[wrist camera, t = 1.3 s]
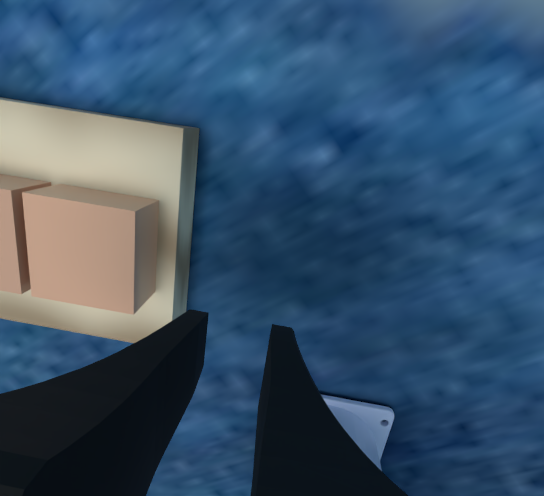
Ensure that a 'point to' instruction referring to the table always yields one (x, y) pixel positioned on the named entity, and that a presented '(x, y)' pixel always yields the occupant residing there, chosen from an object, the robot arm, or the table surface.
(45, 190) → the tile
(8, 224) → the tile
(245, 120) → the table surface
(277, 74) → the table surface
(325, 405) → the robot arm
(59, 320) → the board
